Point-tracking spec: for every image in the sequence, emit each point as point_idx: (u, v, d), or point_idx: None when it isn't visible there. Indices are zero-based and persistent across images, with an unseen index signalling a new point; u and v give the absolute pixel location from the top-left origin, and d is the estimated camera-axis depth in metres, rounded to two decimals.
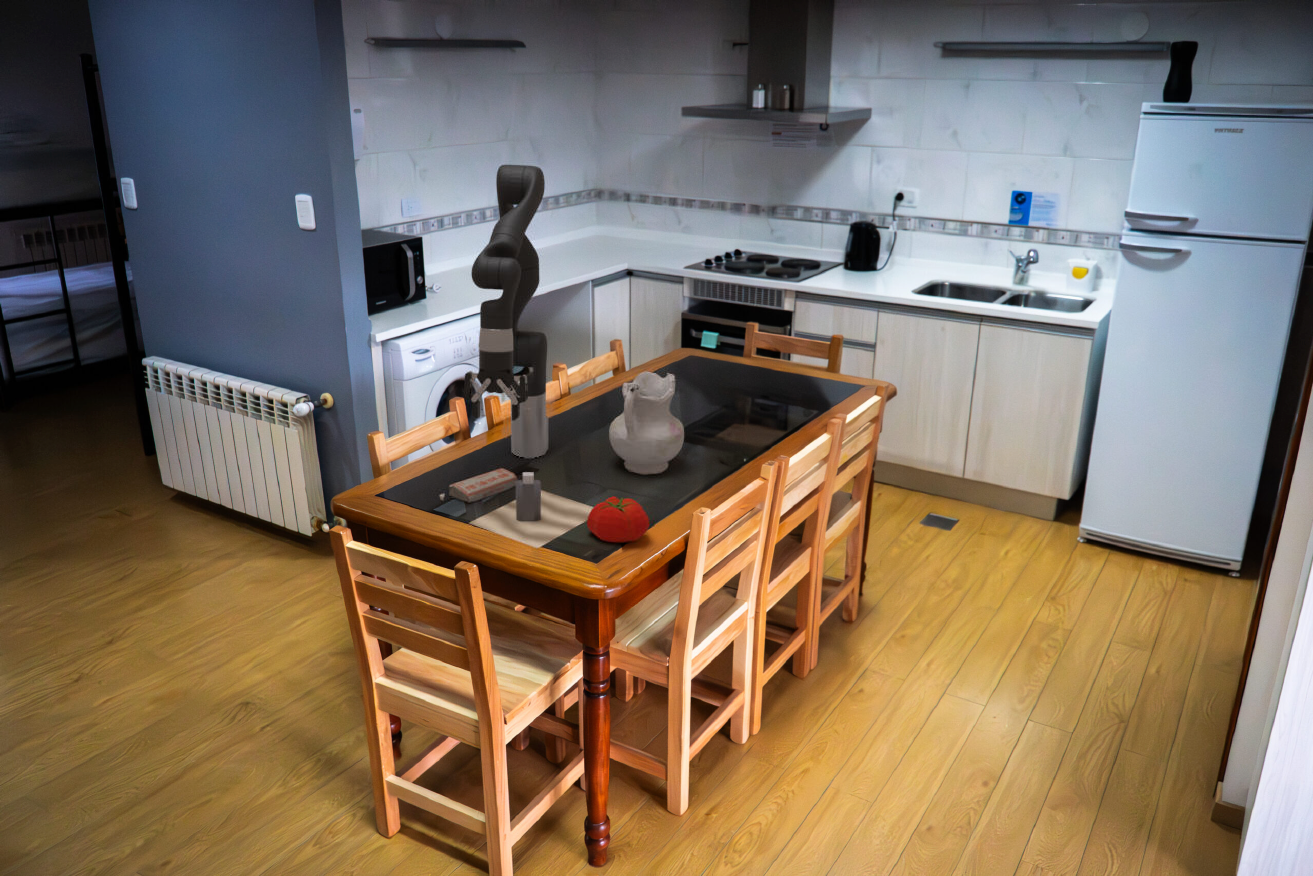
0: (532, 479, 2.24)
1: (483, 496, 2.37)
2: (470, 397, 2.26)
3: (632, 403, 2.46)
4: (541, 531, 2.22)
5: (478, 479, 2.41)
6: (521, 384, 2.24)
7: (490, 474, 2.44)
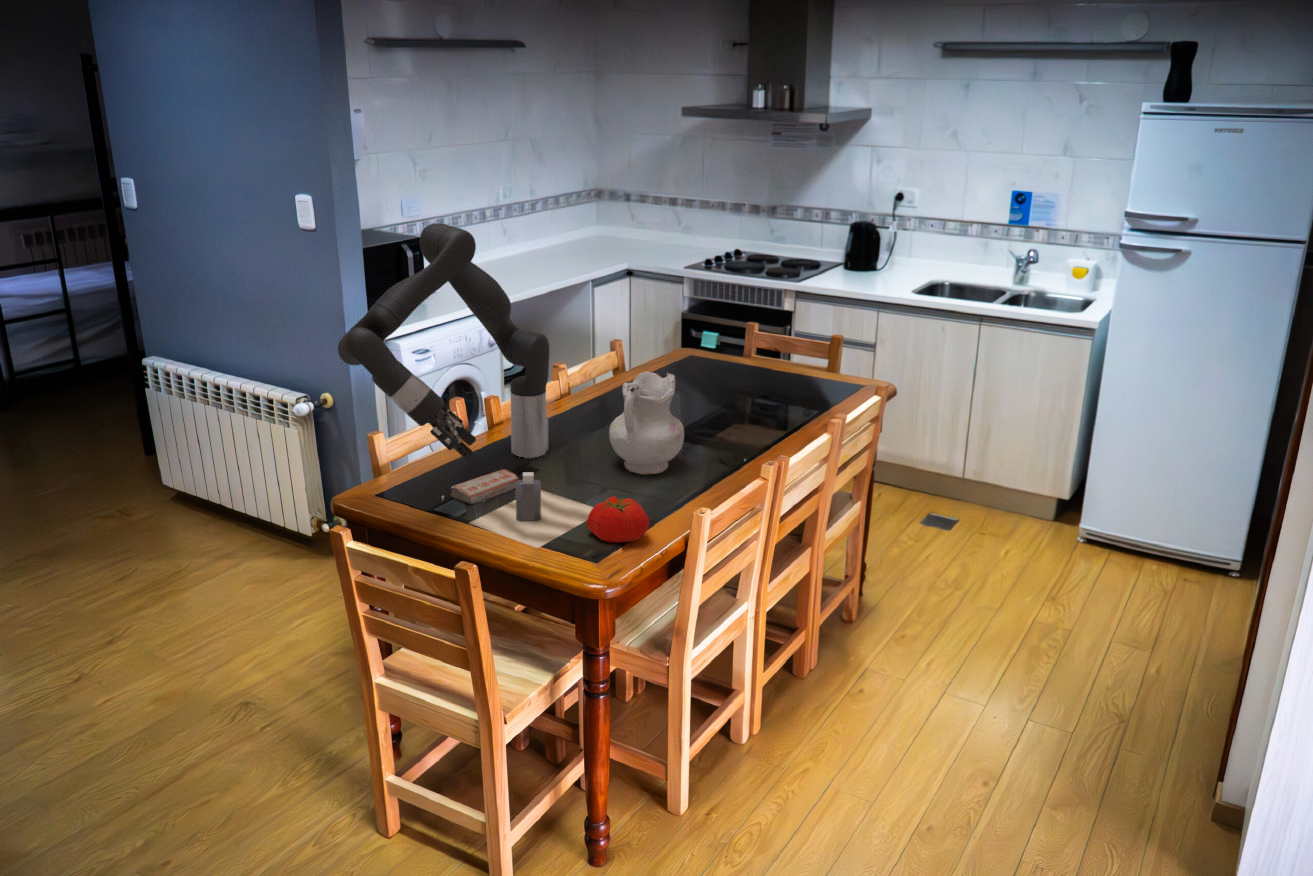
0: (532, 479, 2.24)
1: (485, 497, 2.37)
2: None
3: (632, 403, 2.46)
4: (541, 531, 2.22)
5: (480, 480, 2.40)
6: None
7: (492, 475, 2.43)
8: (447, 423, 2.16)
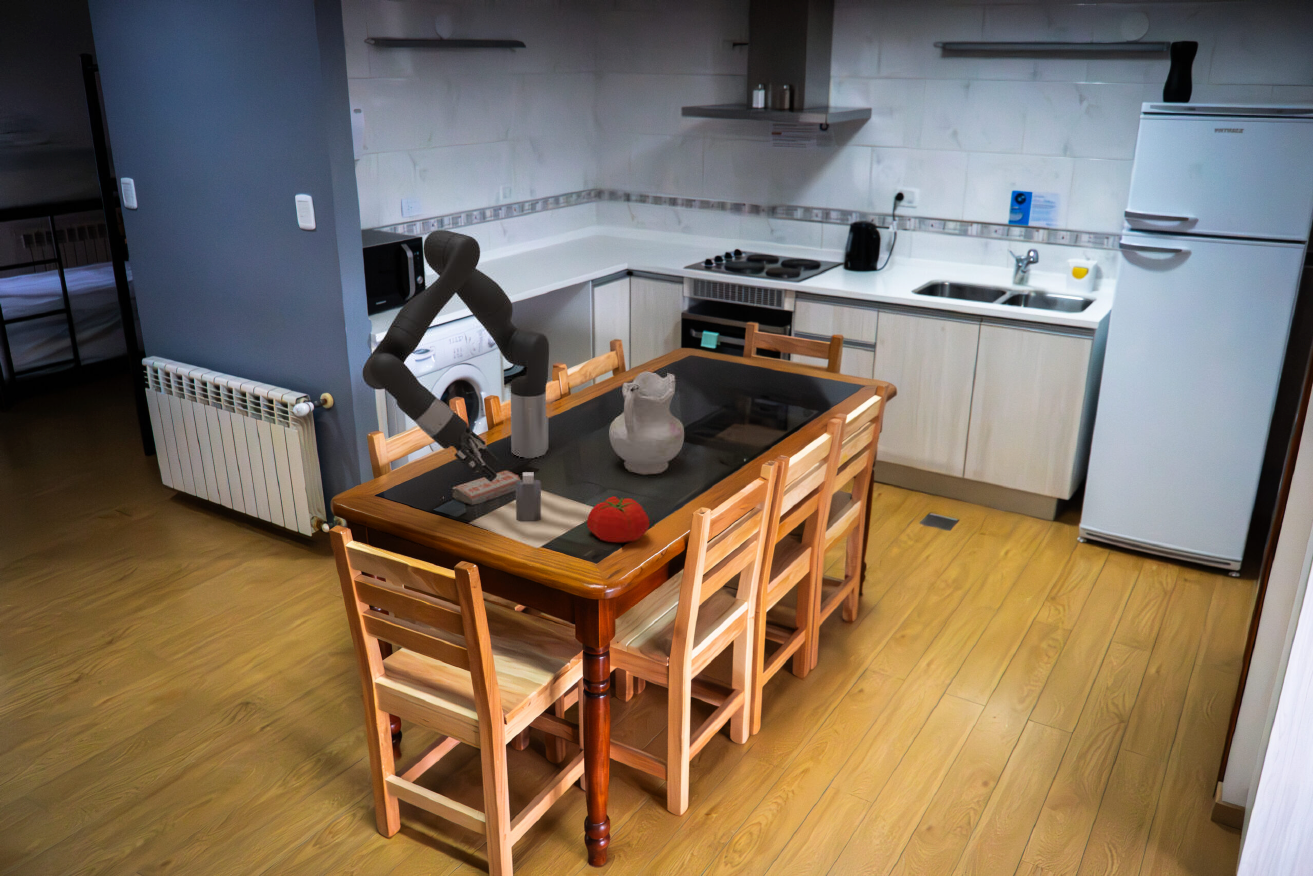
0: (532, 479, 2.24)
1: (486, 498, 2.36)
2: None
3: (632, 403, 2.46)
4: (541, 531, 2.22)
5: (482, 481, 2.40)
6: None
7: None
8: (471, 446, 2.18)
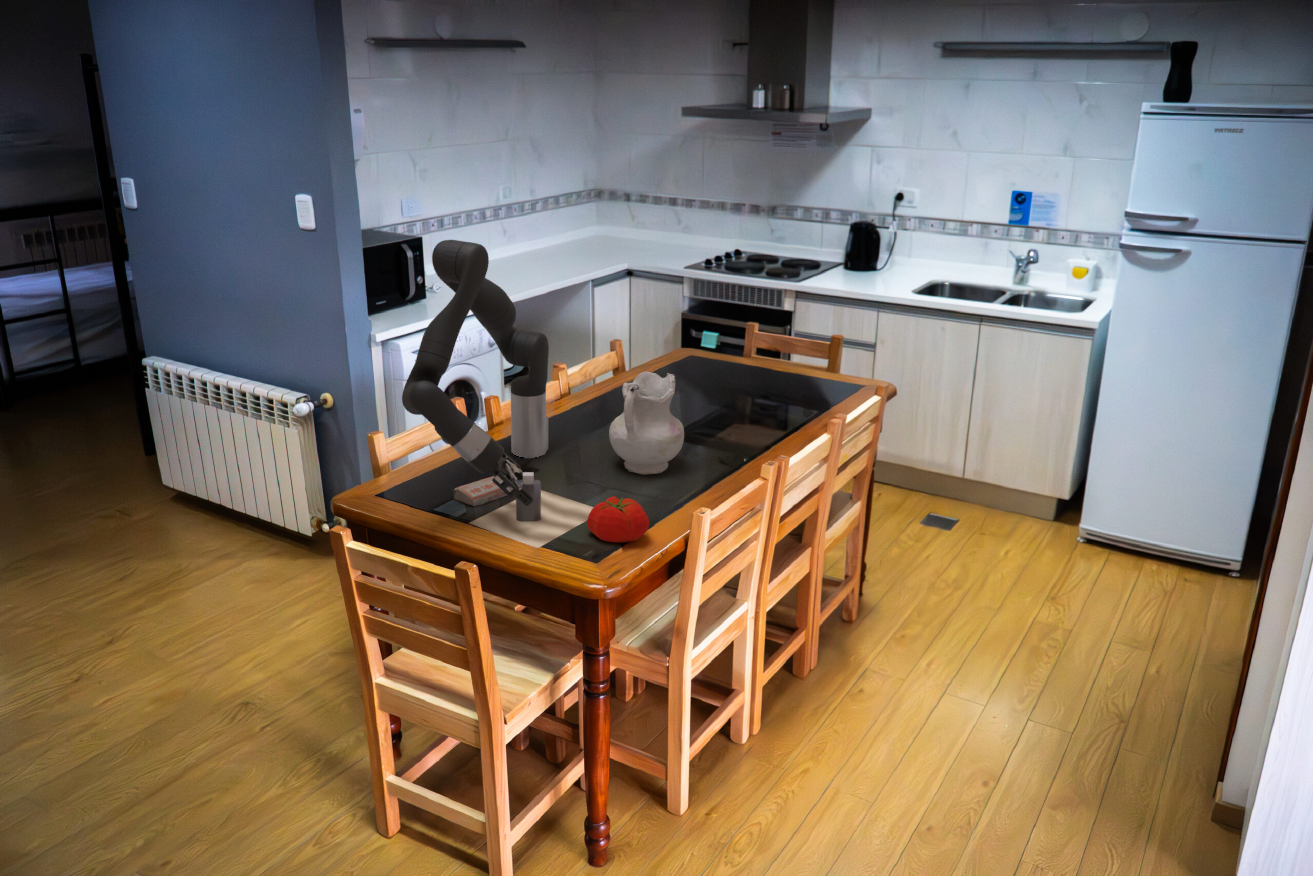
0: (532, 479, 2.24)
1: (488, 500, 2.36)
2: None
3: (632, 403, 2.46)
4: (541, 531, 2.22)
5: (483, 482, 2.39)
6: None
7: None
8: (507, 471, 2.21)
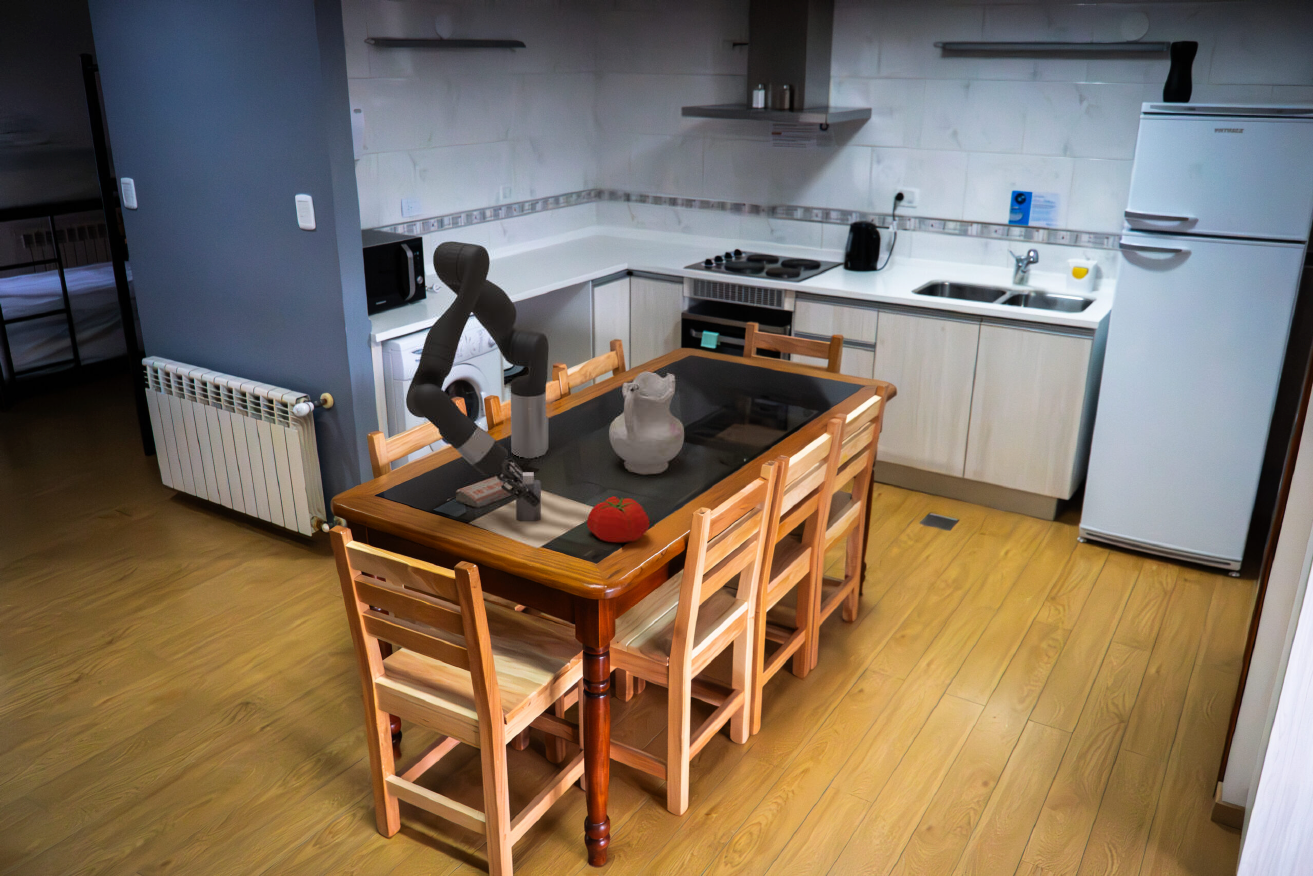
0: (532, 479, 2.24)
1: (491, 501, 2.35)
2: None
3: (632, 403, 2.46)
4: (541, 531, 2.22)
5: (485, 483, 2.38)
6: None
7: None
8: (513, 474, 2.22)
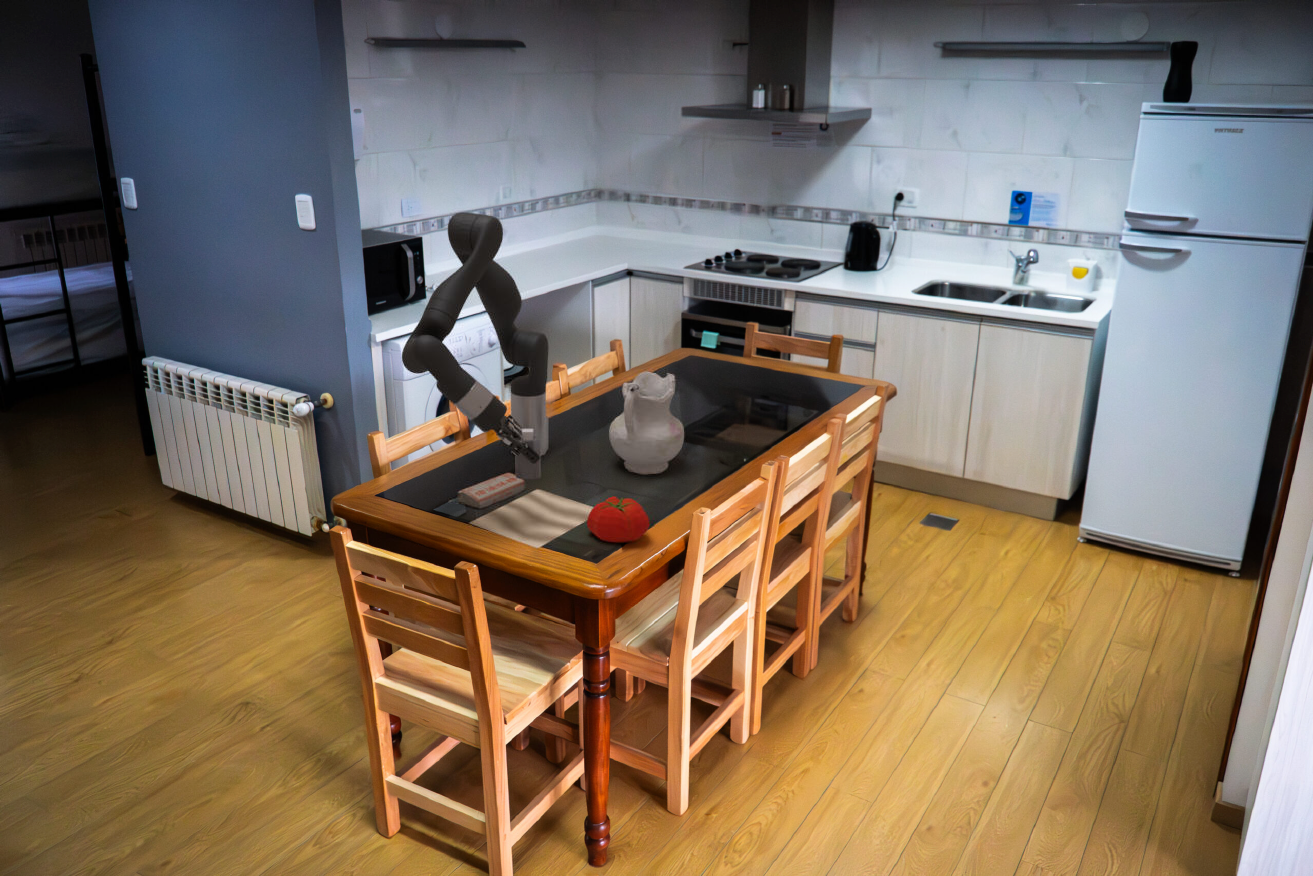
0: (531, 435, 2.20)
1: (493, 501, 2.35)
2: None
3: (632, 403, 2.46)
4: (541, 531, 2.22)
5: (486, 484, 2.38)
6: None
7: (498, 479, 2.41)
8: (512, 430, 2.18)
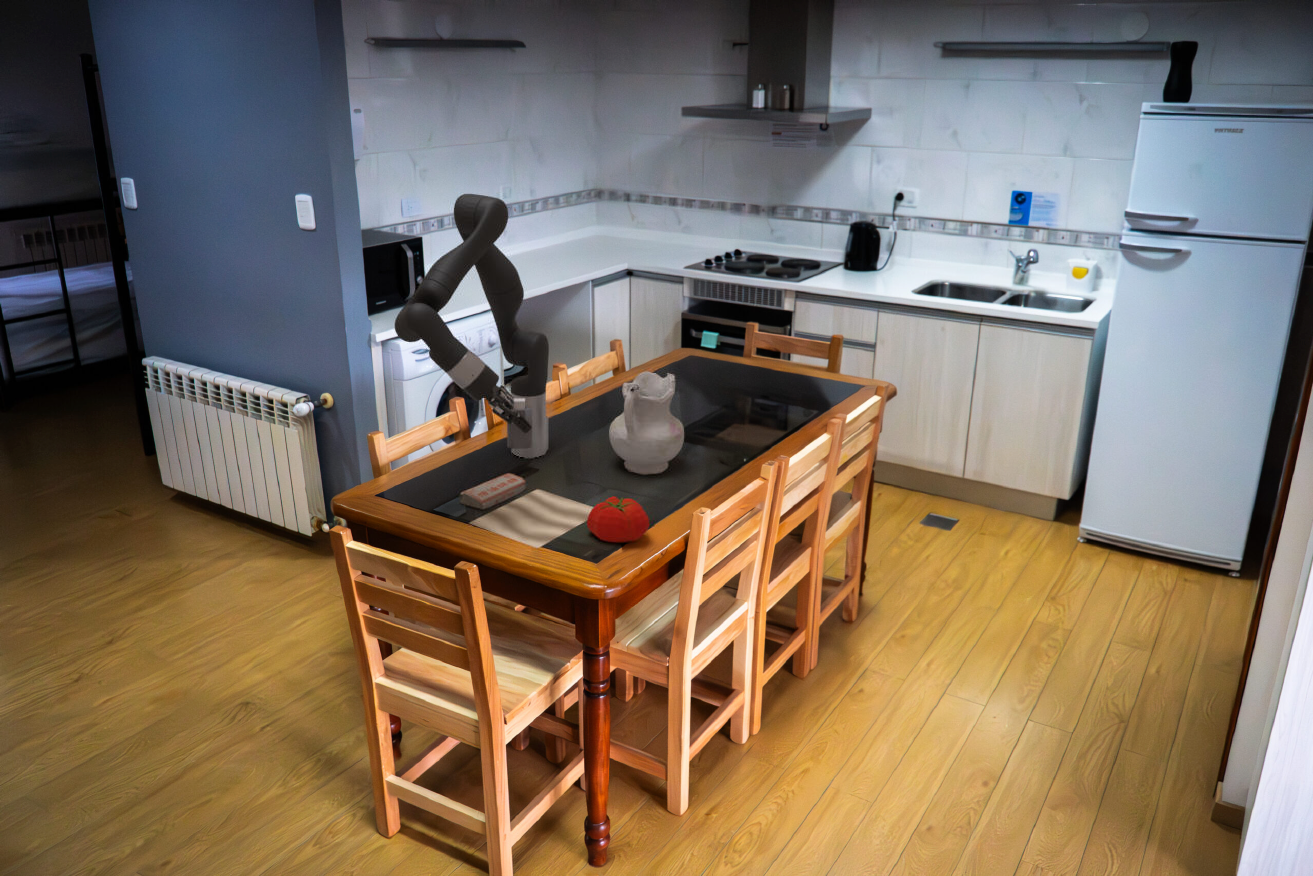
0: (523, 405, 2.22)
1: (496, 502, 2.35)
2: None
3: (632, 403, 2.46)
4: (541, 531, 2.22)
5: (488, 485, 2.38)
6: None
7: (499, 479, 2.41)
8: (504, 399, 2.20)
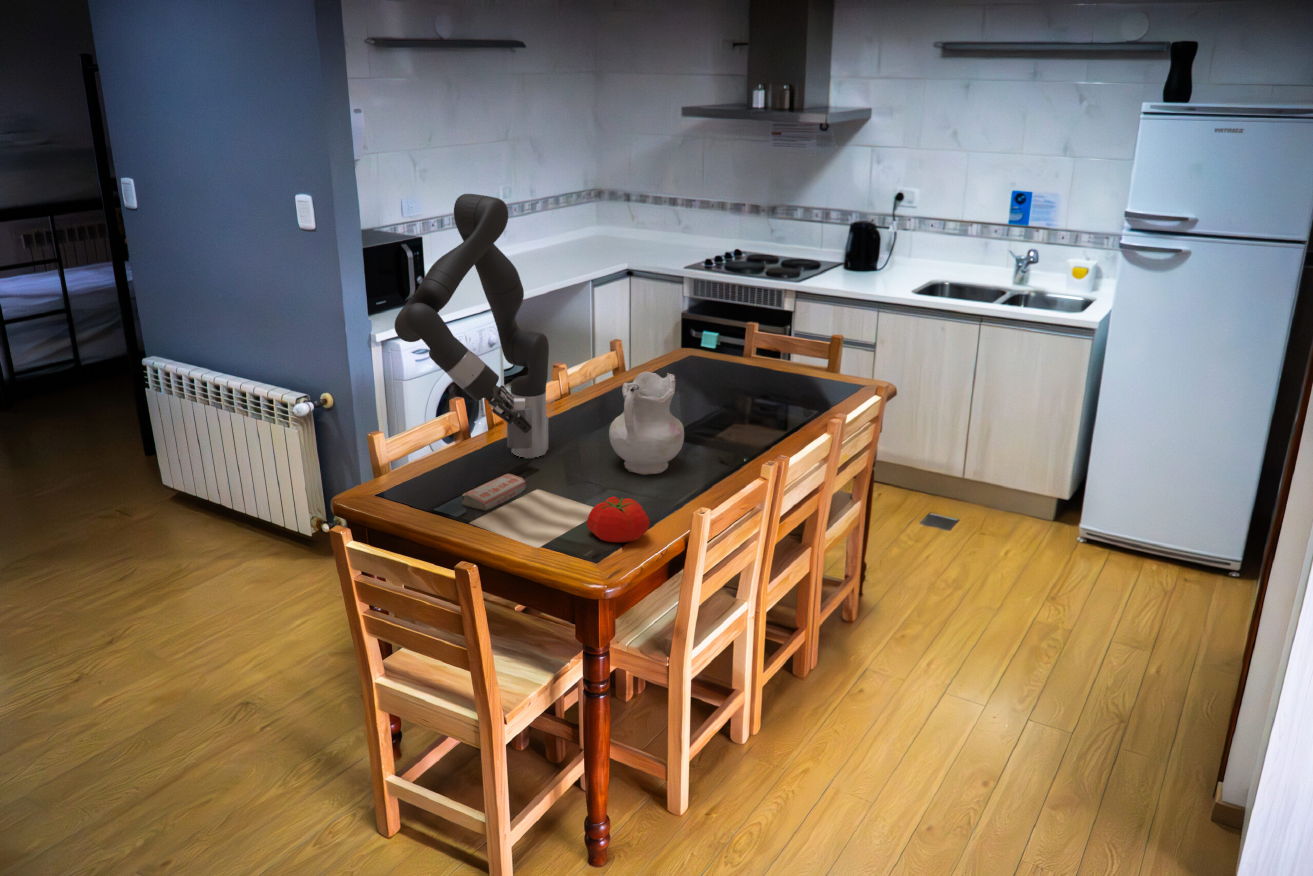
0: (523, 405, 2.22)
1: (498, 503, 2.34)
2: None
3: (632, 403, 2.46)
4: (541, 531, 2.22)
5: (489, 486, 2.37)
6: None
7: (499, 480, 2.41)
8: (504, 399, 2.20)
